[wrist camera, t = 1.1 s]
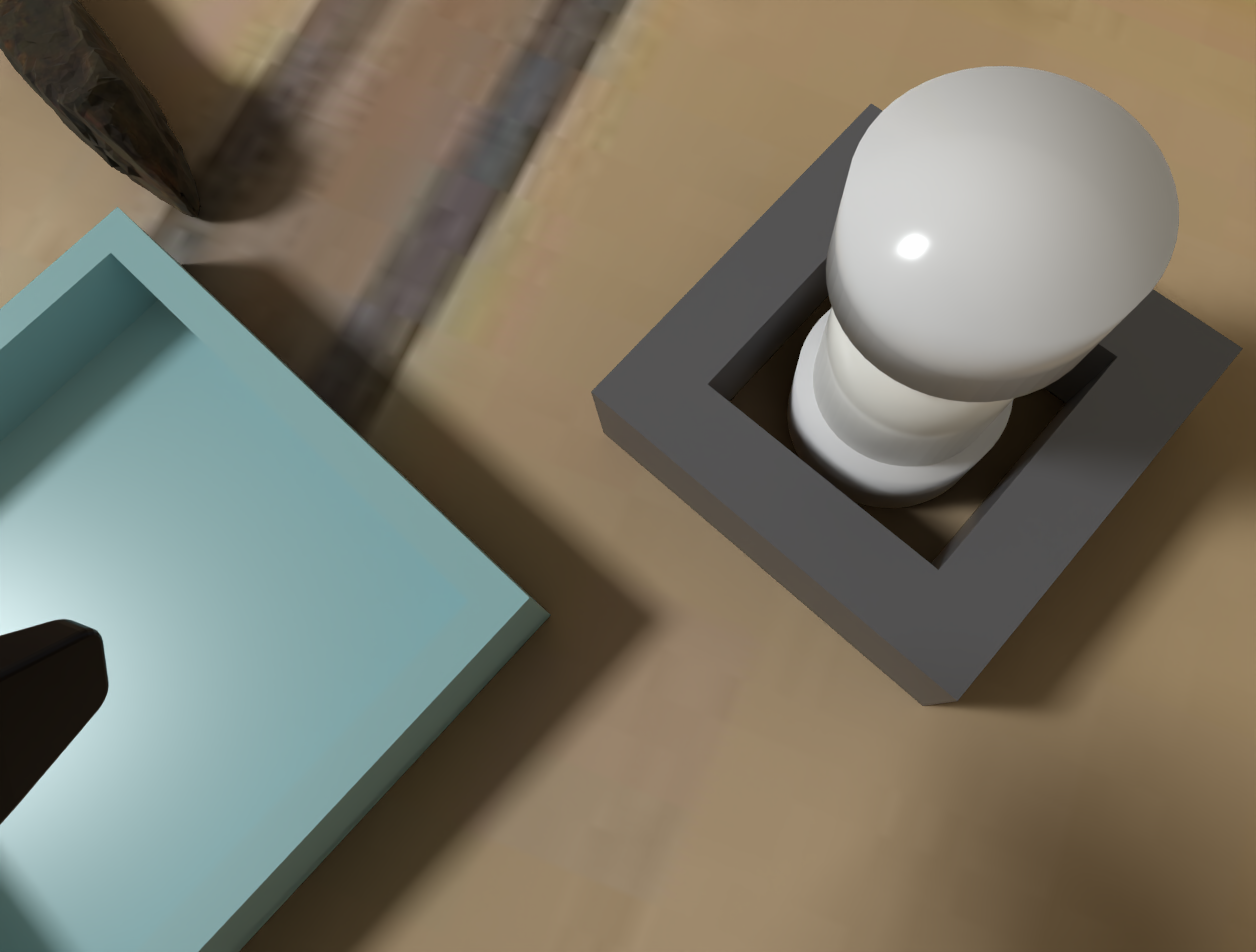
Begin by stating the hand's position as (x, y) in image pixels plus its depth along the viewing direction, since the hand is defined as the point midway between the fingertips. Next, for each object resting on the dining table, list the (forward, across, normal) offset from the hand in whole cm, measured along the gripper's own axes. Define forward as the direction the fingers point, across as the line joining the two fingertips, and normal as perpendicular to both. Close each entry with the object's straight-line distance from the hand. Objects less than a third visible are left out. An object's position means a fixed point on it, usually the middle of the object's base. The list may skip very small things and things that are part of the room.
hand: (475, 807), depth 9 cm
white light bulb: (+17, -4, +1) cm, 18 cm away
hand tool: (+21, +25, -2) cm, 33 cm away
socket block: (+17, -4, +1) cm, 18 cm away
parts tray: (+9, +13, +10) cm, 19 cm away
